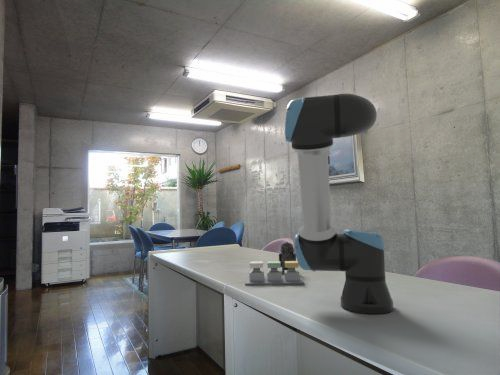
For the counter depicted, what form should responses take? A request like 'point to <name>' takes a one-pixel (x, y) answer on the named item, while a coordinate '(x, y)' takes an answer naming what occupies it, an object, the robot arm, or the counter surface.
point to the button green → (274, 265)
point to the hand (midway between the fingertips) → (322, 206)
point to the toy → (286, 255)
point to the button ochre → (291, 265)
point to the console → (274, 278)
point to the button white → (256, 266)
